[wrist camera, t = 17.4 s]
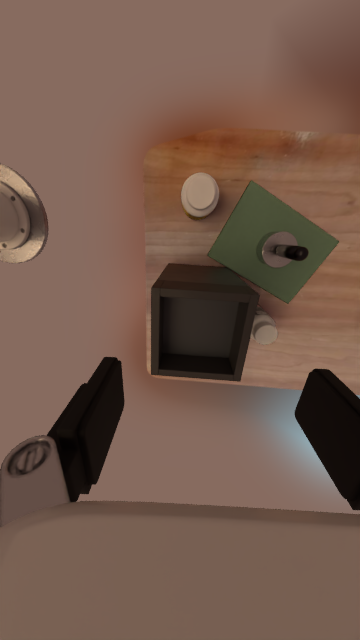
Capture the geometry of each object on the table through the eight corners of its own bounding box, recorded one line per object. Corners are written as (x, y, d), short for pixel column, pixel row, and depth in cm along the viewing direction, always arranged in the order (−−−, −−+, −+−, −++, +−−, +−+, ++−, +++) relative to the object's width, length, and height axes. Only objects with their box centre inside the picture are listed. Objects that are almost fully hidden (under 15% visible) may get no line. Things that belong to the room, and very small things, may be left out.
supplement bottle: (184, 222, 37) (183, 218, 28) (180, 188, 35) (176, 171, 26) (214, 217, 37) (223, 211, 28) (211, 182, 35) (220, 162, 25)
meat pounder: (249, 255, 39) (272, 263, 28) (269, 225, 37) (302, 221, 26) (274, 270, 40) (305, 283, 29) (295, 242, 37) (337, 245, 27)
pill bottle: (246, 330, 46) (261, 353, 37) (233, 313, 44) (244, 333, 35) (267, 316, 44) (288, 337, 35) (254, 298, 43) (272, 315, 34)
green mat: (207, 255, 40) (207, 255, 39) (250, 181, 35) (251, 180, 34) (286, 303, 43) (288, 303, 42) (337, 241, 38) (339, 241, 37)
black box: (166, 317, 45) (150, 375, 27) (168, 263, 41) (151, 287, 22) (219, 321, 45) (240, 381, 27) (227, 267, 40) (259, 294, 22)
